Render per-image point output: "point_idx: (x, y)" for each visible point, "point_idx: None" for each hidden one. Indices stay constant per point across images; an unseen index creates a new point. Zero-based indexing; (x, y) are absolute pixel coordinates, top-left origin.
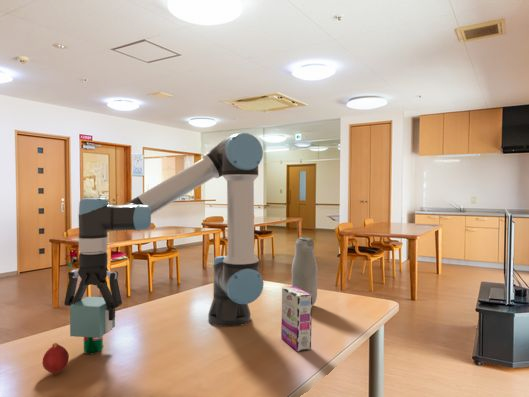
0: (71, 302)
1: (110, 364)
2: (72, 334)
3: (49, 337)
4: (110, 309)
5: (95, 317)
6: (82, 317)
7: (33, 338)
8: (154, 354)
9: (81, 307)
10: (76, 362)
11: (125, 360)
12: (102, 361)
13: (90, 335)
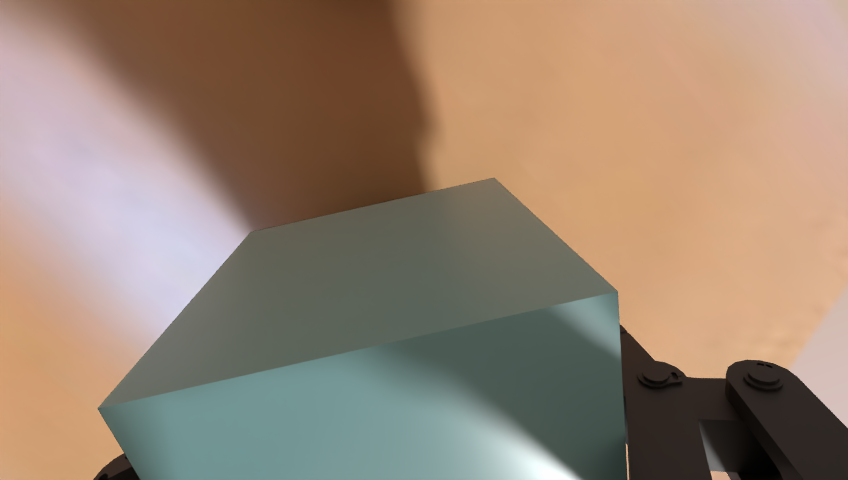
0: (709, 421)
1: (159, 146)
2: (477, 184)
3: (748, 305)
4: (111, 467)
5: (235, 301)
6: (396, 261)
7: (825, 267)
8: (39, 330)
9: (418, 323)
10: (371, 100)
11: (123, 218)
12: (237, 163)
13: (326, 220)
